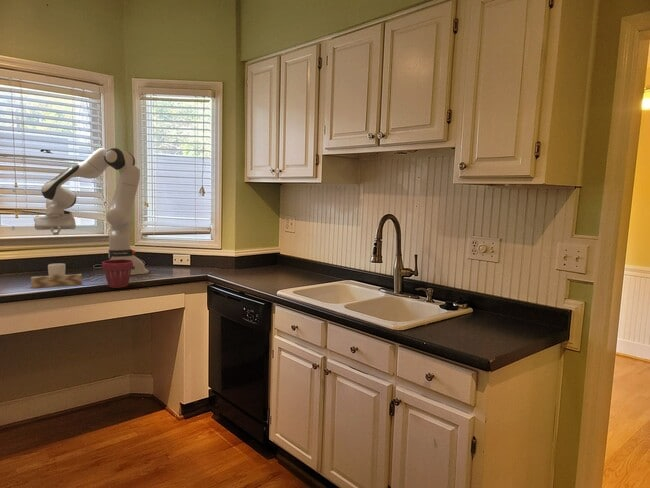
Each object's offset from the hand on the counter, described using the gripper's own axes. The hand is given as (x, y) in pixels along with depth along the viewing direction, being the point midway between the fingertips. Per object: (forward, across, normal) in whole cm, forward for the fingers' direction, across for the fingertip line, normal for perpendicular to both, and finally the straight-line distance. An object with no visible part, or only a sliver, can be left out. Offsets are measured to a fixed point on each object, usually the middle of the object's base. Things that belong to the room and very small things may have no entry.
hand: (55, 234), depth 260 cm
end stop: (+39, 0, -6) cm, 39 cm away
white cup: (+36, 0, -3) cm, 36 cm away
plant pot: (+49, +27, -16) cm, 58 cm away
